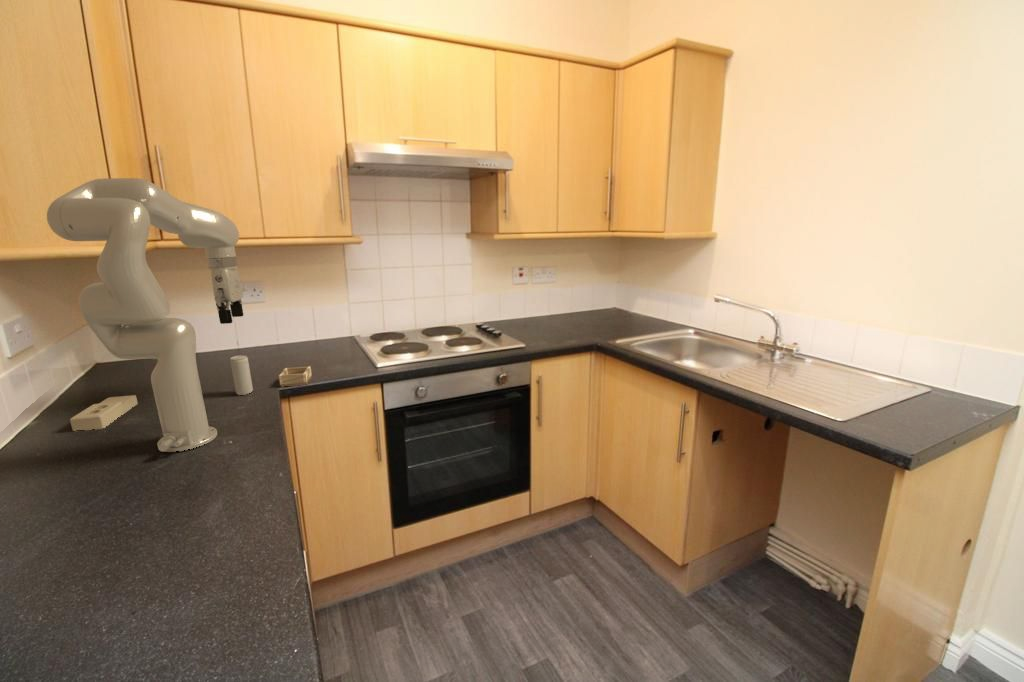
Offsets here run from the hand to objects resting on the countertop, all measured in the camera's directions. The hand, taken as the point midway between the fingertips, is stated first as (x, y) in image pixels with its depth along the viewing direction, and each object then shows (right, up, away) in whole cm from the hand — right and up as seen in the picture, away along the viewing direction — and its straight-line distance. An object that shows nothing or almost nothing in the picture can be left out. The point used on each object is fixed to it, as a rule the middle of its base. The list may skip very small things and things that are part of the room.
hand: (232, 319), depth 147 cm
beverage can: (0, -23, +6) cm, 24 cm away
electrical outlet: (-30, -29, -10) cm, 42 cm away
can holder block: (+13, -20, +15) cm, 29 cm away
